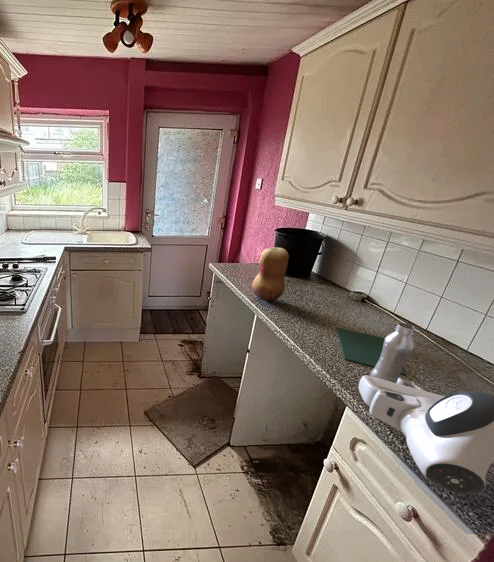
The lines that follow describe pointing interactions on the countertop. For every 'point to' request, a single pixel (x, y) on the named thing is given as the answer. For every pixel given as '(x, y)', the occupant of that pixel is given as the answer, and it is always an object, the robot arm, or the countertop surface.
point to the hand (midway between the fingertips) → (404, 381)
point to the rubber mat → (361, 347)
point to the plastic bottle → (394, 353)
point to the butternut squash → (271, 274)
